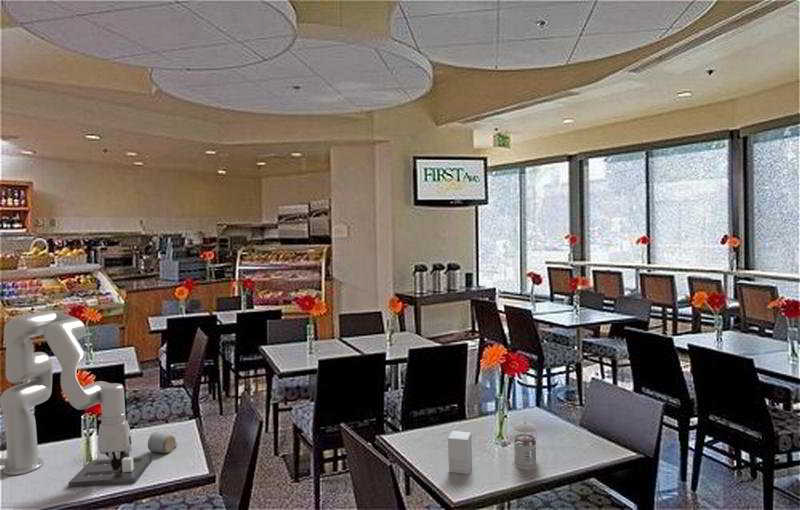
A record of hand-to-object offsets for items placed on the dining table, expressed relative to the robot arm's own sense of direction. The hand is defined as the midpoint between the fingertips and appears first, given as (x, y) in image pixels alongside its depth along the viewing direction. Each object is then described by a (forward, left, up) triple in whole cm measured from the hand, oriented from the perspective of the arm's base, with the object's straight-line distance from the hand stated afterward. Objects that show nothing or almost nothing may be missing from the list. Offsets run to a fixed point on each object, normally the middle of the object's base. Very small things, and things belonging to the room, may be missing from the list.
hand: (116, 468), depth 202 cm
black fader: (-1, +9, -1) cm, 9 cm away
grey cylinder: (+10, +22, -4) cm, 25 cm away
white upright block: (+4, 0, -1) cm, 4 cm away
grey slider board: (-3, +3, -3) cm, 5 cm away
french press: (+148, -13, -3) cm, 149 cm away
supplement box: (+123, -14, -4) cm, 124 cm away
